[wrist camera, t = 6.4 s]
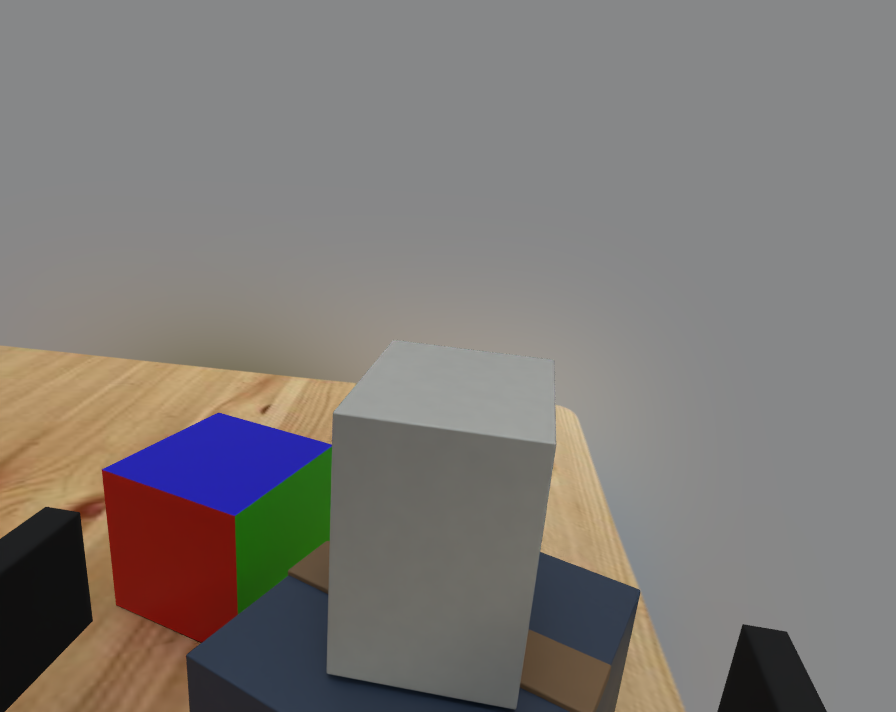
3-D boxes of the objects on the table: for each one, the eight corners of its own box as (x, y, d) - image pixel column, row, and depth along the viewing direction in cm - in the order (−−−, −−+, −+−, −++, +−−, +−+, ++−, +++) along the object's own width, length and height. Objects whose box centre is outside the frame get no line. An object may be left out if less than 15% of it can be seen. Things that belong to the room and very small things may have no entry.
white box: (524, 567, 26) (554, 359, 23) (516, 710, 19) (556, 443, 16) (381, 543, 26) (393, 339, 24) (325, 674, 20) (332, 412, 17)
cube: (116, 604, 33) (102, 469, 30) (222, 527, 40) (218, 412, 38) (239, 659, 30) (234, 516, 28) (330, 566, 37) (333, 445, 35)
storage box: (610, 739, 28) (643, 585, 25) (497, 1063, 18) (533, 863, 15) (382, 627, 33) (390, 490, 30) (195, 828, 23) (183, 648, 20)
